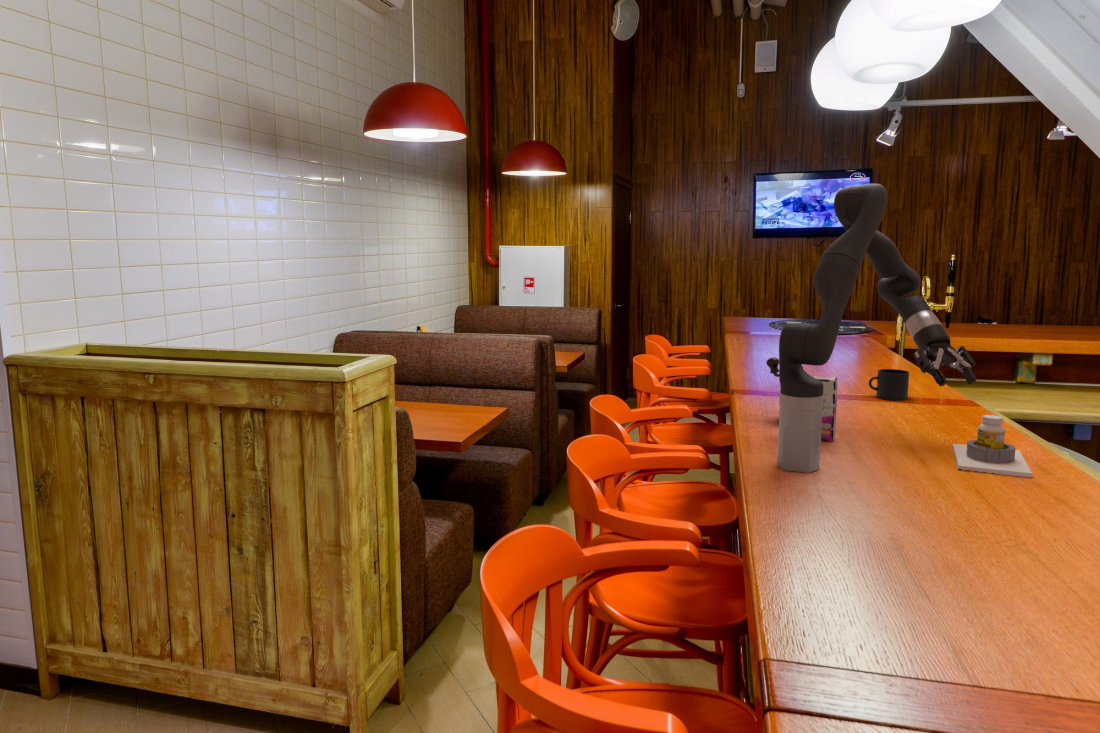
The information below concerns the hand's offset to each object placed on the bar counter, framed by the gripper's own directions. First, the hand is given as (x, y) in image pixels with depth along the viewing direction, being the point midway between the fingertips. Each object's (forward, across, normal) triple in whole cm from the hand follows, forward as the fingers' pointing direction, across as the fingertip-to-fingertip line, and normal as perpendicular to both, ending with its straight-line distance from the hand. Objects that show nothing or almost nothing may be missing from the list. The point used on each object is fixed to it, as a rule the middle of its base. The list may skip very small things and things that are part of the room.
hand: (958, 383), depth 175 cm
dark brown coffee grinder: (-15, -22, +38) cm, 47 cm away
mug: (-28, +27, +52) cm, 65 cm away
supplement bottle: (+19, 0, +4) cm, 19 cm away
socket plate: (+20, 0, +4) cm, 20 cm away
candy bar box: (-2, -27, +26) cm, 37 cm away
